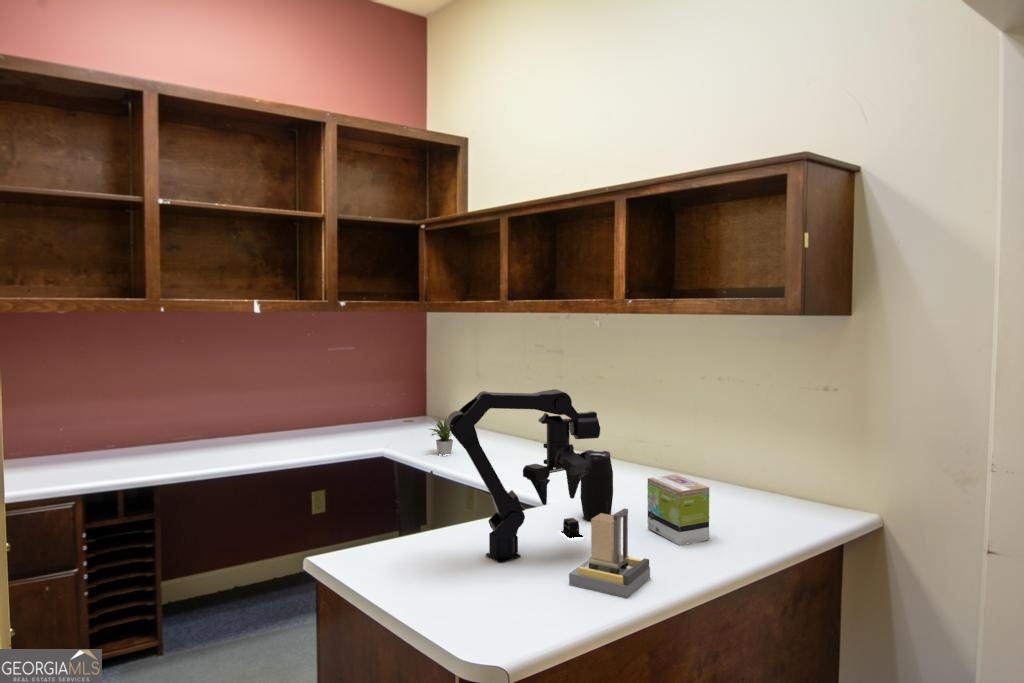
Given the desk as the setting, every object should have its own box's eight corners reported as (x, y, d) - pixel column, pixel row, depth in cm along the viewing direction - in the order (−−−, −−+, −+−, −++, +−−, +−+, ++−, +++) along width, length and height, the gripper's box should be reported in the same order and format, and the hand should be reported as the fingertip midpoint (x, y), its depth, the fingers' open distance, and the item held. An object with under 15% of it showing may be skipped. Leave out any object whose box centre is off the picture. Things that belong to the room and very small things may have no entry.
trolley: (588, 570, 159) (588, 510, 158) (599, 562, 164) (599, 504, 163) (617, 577, 155) (617, 515, 154) (628, 568, 160) (628, 508, 159)
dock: (569, 584, 157) (569, 564, 157) (594, 565, 168) (594, 547, 168) (627, 598, 150) (627, 577, 150) (650, 577, 161) (650, 558, 161)
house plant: (432, 450, 303) (431, 412, 303) (463, 451, 301) (463, 413, 301) (423, 457, 289) (422, 418, 288) (456, 458, 287) (455, 418, 286)
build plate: (550, 531, 196) (550, 515, 196) (574, 528, 199) (574, 512, 198) (568, 545, 185) (568, 528, 184) (593, 542, 187) (593, 525, 187)
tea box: (646, 529, 195) (646, 477, 195) (675, 524, 199) (676, 473, 199) (679, 546, 182) (679, 490, 181) (710, 541, 186) (710, 485, 185)
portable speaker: (592, 512, 212) (592, 448, 211) (617, 518, 206) (618, 452, 205) (575, 519, 205) (575, 452, 204) (600, 525, 199) (600, 457, 198)
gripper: (550, 450, 164) (550, 516, 165) (607, 440, 176) (607, 502, 177) (521, 443, 173) (521, 505, 174) (577, 434, 185) (577, 492, 185)
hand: (558, 501), depth 177 cm, fingers open, 9 cm apart
